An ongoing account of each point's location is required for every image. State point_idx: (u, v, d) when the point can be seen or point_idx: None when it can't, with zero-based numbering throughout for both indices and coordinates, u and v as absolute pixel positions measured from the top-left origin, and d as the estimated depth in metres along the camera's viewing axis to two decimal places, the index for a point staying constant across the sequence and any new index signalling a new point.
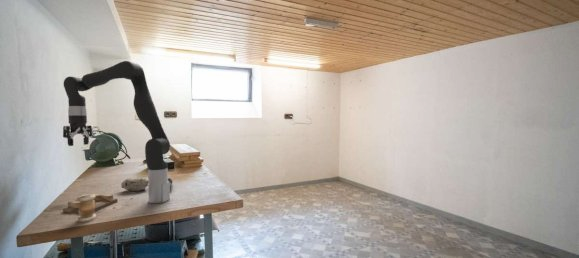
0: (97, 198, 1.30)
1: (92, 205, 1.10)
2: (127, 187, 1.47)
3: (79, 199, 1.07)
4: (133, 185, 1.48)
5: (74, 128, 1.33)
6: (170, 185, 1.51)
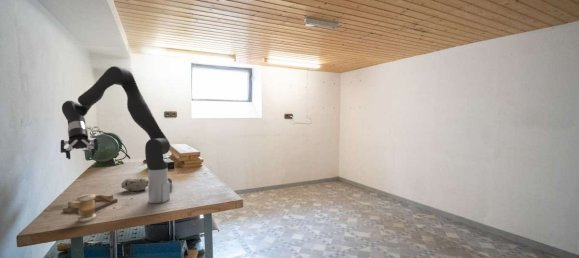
0: (97, 198, 1.30)
1: (92, 205, 1.10)
2: (127, 187, 1.47)
3: (79, 199, 1.07)
4: (133, 185, 1.48)
5: (71, 141, 1.23)
6: (170, 185, 1.51)
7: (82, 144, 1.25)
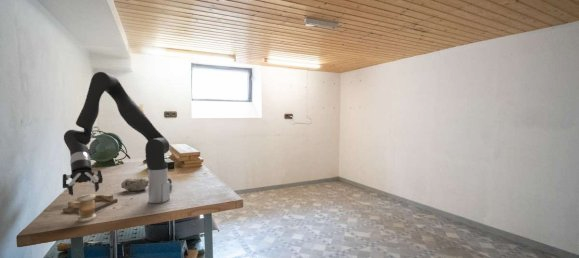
0: (97, 198, 1.30)
1: (92, 205, 1.10)
2: (127, 187, 1.47)
3: (79, 199, 1.07)
4: (133, 185, 1.48)
5: (74, 175, 1.16)
6: (170, 185, 1.51)
7: (85, 177, 1.17)
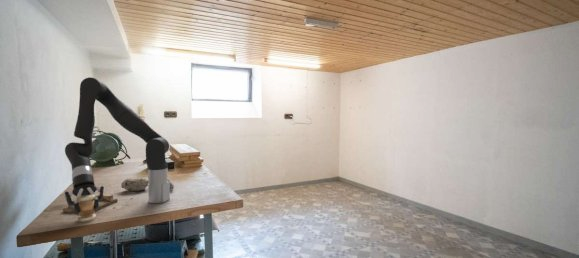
0: None
1: (92, 205, 1.10)
2: (127, 187, 1.47)
3: (79, 199, 1.07)
4: (133, 185, 1.48)
5: (76, 192, 1.10)
6: (171, 185, 1.52)
7: (86, 193, 1.12)
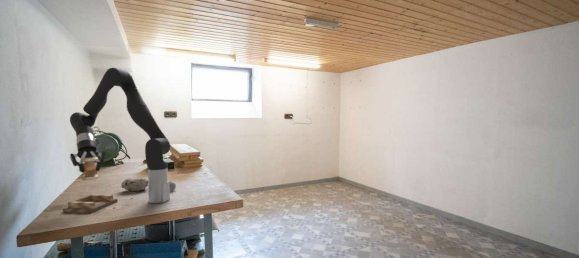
0: (97, 198, 1.30)
1: (95, 166, 1.23)
2: (127, 187, 1.47)
3: (83, 160, 1.20)
4: (133, 185, 1.48)
5: (80, 154, 1.24)
6: (174, 184, 1.53)
7: (90, 156, 1.26)
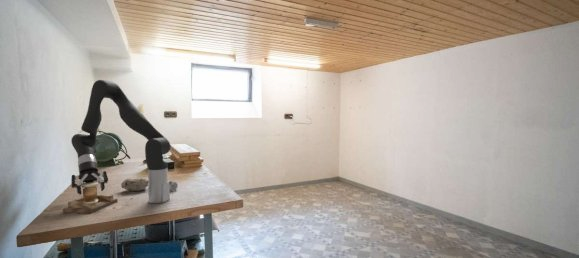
0: (97, 198, 1.30)
1: (94, 191, 1.25)
2: (127, 187, 1.47)
3: (83, 185, 1.22)
4: (133, 185, 1.48)
5: (81, 176, 1.25)
6: (176, 184, 1.54)
7: (92, 178, 1.27)
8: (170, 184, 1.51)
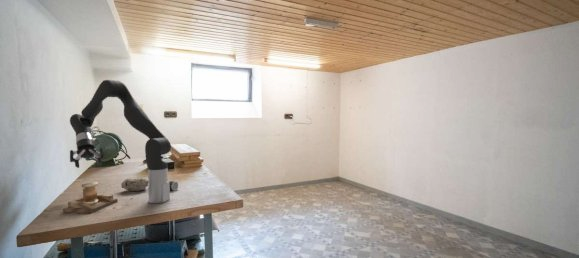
0: (97, 198, 1.30)
1: (95, 191, 1.25)
2: (127, 187, 1.47)
3: (83, 185, 1.22)
4: (133, 185, 1.48)
5: (79, 151, 1.35)
6: (177, 183, 1.55)
7: (89, 154, 1.36)
8: (172, 184, 1.52)
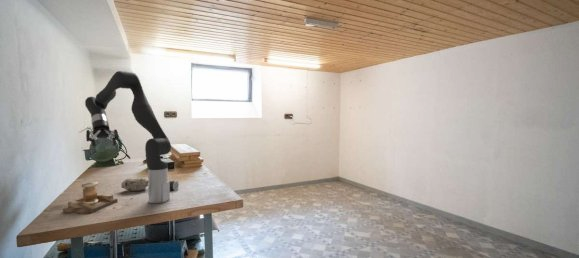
0: (97, 198, 1.30)
1: (95, 191, 1.25)
2: (127, 187, 1.47)
3: (83, 185, 1.22)
4: (133, 185, 1.48)
5: (95, 131, 1.39)
6: (177, 183, 1.56)
7: (105, 134, 1.41)
8: (173, 183, 1.53)
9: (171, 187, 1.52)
